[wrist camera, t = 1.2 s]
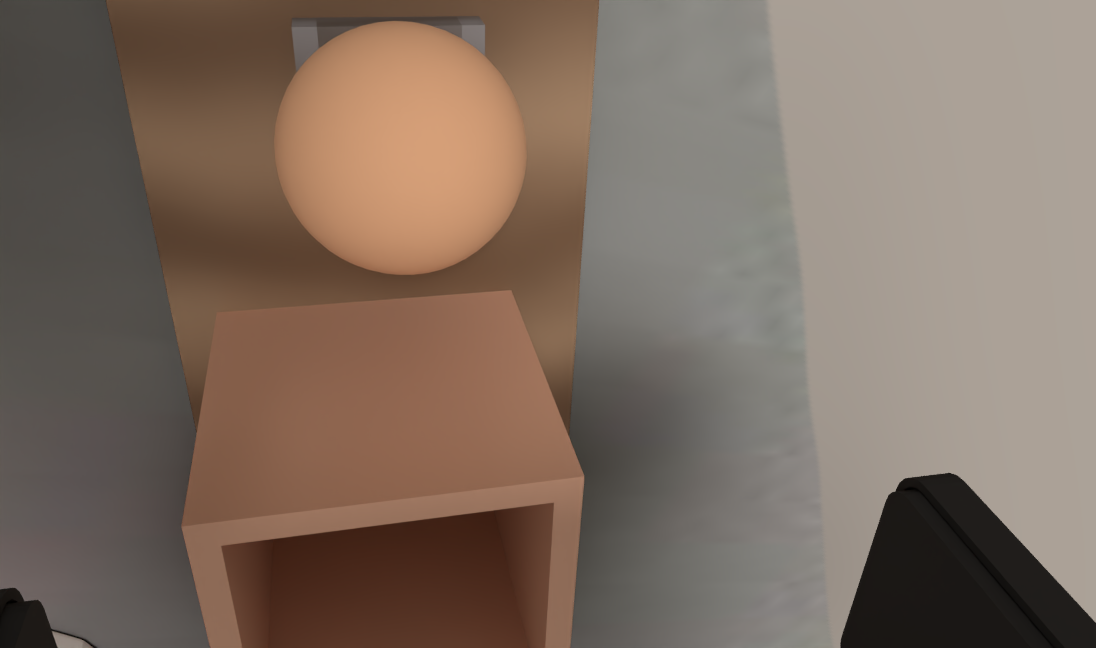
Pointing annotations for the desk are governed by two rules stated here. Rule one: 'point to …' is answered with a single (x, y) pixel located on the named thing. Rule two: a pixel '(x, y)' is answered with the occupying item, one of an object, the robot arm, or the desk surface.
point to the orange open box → (382, 480)
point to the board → (252, 180)
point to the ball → (400, 148)
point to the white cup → (69, 641)
